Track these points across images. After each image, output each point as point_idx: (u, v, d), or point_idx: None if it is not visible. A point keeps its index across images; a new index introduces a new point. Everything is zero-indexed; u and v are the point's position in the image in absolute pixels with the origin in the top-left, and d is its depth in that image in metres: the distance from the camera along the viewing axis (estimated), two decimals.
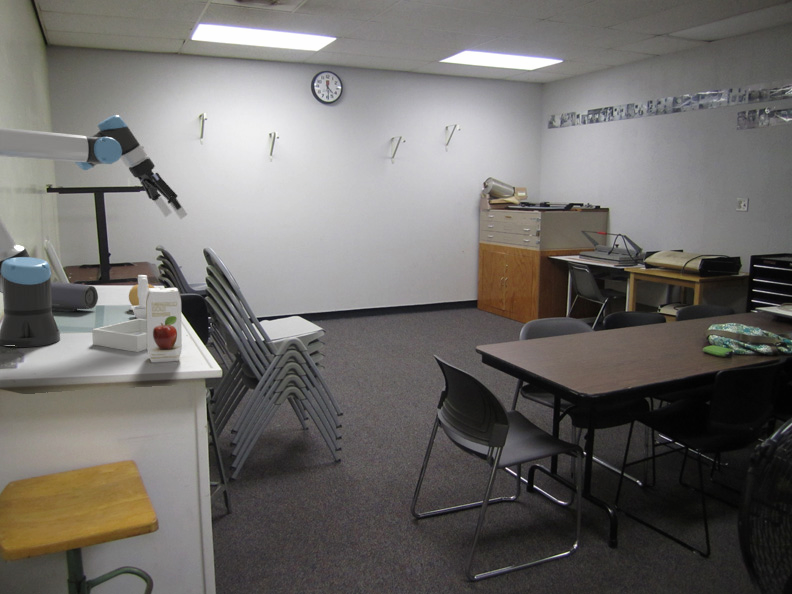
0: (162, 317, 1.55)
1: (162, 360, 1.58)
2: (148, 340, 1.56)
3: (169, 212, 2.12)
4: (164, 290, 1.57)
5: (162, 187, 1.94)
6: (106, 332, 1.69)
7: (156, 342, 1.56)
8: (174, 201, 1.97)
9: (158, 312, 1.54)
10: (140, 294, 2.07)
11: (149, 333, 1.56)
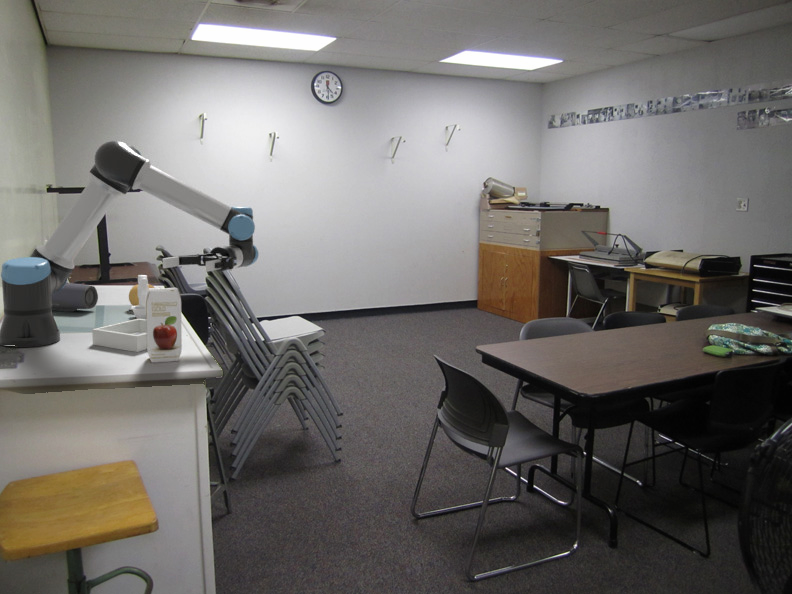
0: (162, 317, 1.55)
1: (162, 360, 1.58)
2: (148, 340, 1.56)
3: (166, 265, 1.69)
4: (164, 290, 1.57)
5: (233, 260, 1.76)
6: (106, 332, 1.69)
7: (156, 342, 1.56)
8: (224, 264, 1.70)
9: (158, 311, 1.55)
10: (140, 294, 2.07)
11: (149, 333, 1.56)
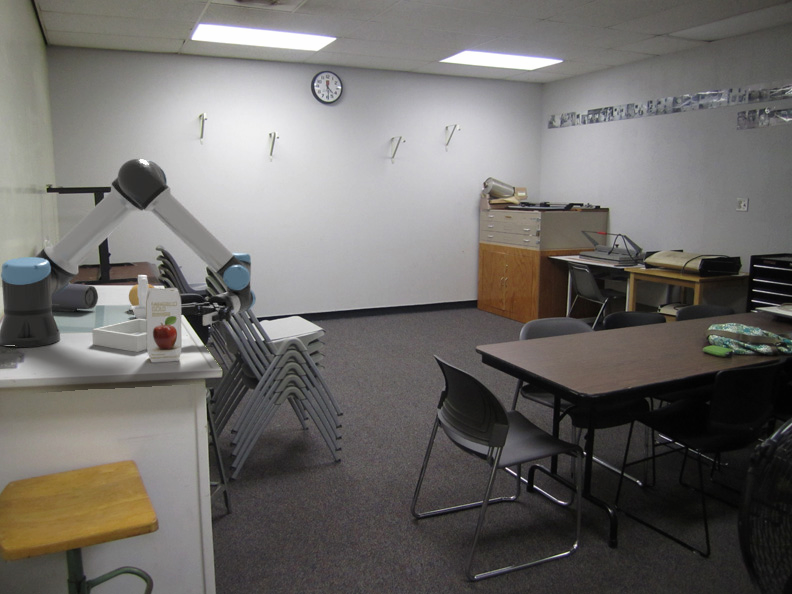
0: (162, 317, 1.55)
1: (162, 360, 1.58)
2: (148, 340, 1.56)
3: None
4: (164, 290, 1.57)
5: None
6: (106, 332, 1.69)
7: (156, 342, 1.56)
8: (221, 316, 1.70)
9: (158, 312, 1.55)
10: (140, 294, 2.07)
11: (149, 333, 1.56)
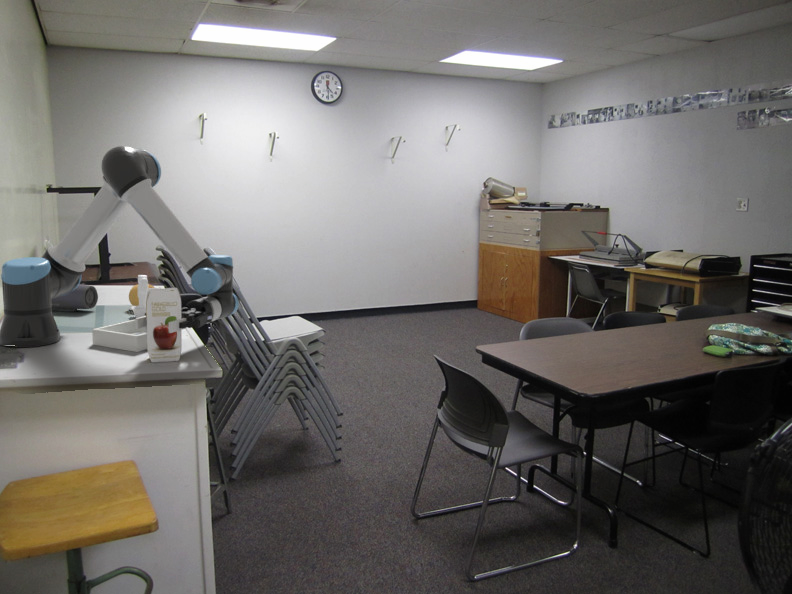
0: (162, 317, 1.55)
1: (162, 360, 1.58)
2: (148, 340, 1.56)
3: (139, 325, 1.57)
4: (164, 290, 1.57)
5: (204, 317, 1.65)
6: (106, 332, 1.69)
7: (156, 342, 1.56)
8: (189, 323, 1.59)
9: (158, 311, 1.55)
10: (140, 294, 2.07)
11: (149, 333, 1.56)
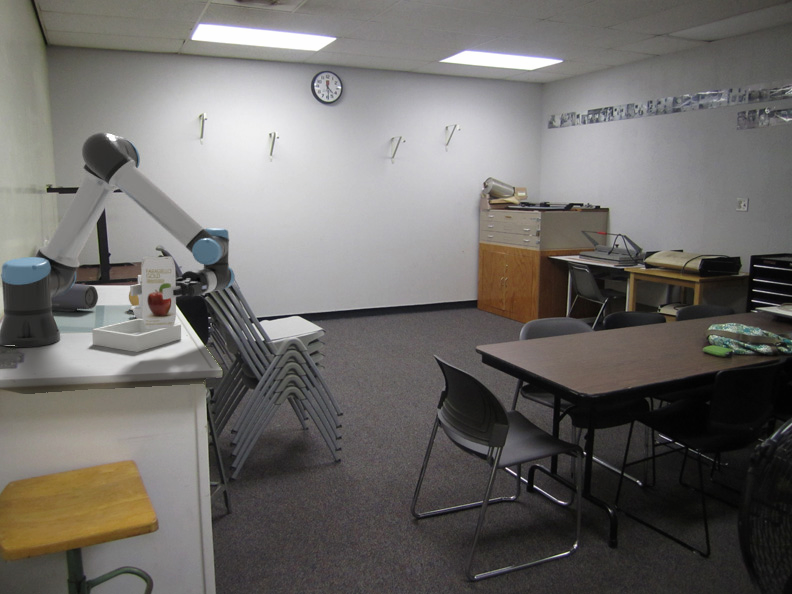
0: (157, 284, 1.58)
1: (157, 327, 1.61)
2: (143, 307, 1.59)
3: (134, 292, 1.60)
4: (159, 258, 1.60)
5: (198, 286, 1.67)
6: (106, 332, 1.69)
7: (151, 309, 1.59)
8: (183, 291, 1.62)
9: (152, 278, 1.57)
10: (140, 294, 2.07)
11: (144, 299, 1.58)
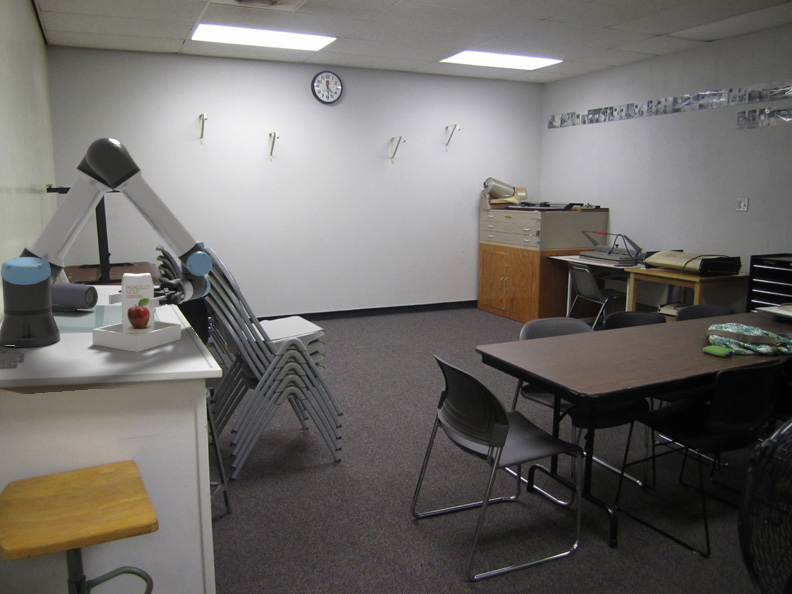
0: (136, 299, 1.72)
1: None
2: (123, 320, 1.72)
3: (112, 301, 1.74)
4: (138, 275, 1.73)
5: (179, 296, 1.81)
6: (106, 332, 1.69)
7: (131, 322, 1.72)
8: (168, 300, 1.76)
9: (132, 294, 1.71)
10: None
11: (124, 313, 1.72)
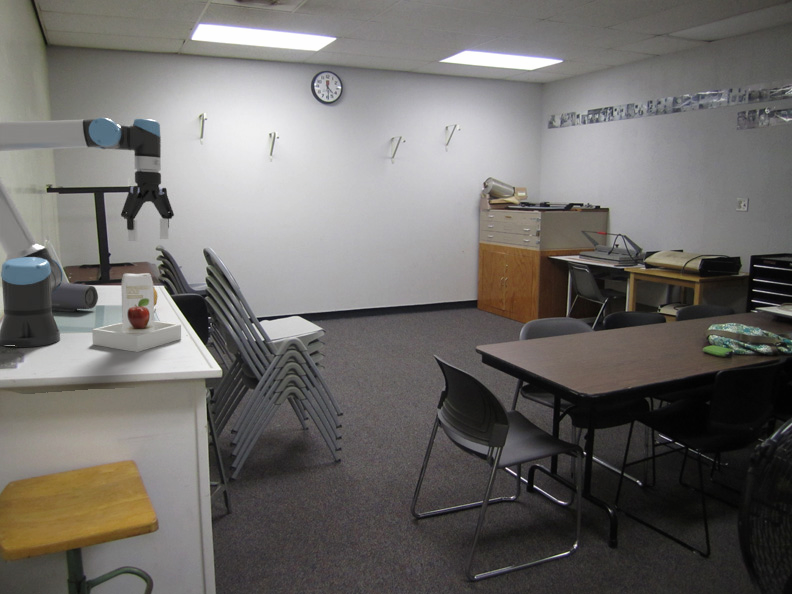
0: (136, 299, 1.72)
1: None
2: (123, 320, 1.72)
3: (164, 237, 1.95)
4: (138, 275, 1.73)
5: (127, 200, 1.80)
6: (106, 332, 1.69)
7: (131, 322, 1.72)
8: (128, 220, 1.81)
9: (132, 294, 1.71)
10: None
11: (124, 313, 1.72)
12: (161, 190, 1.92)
